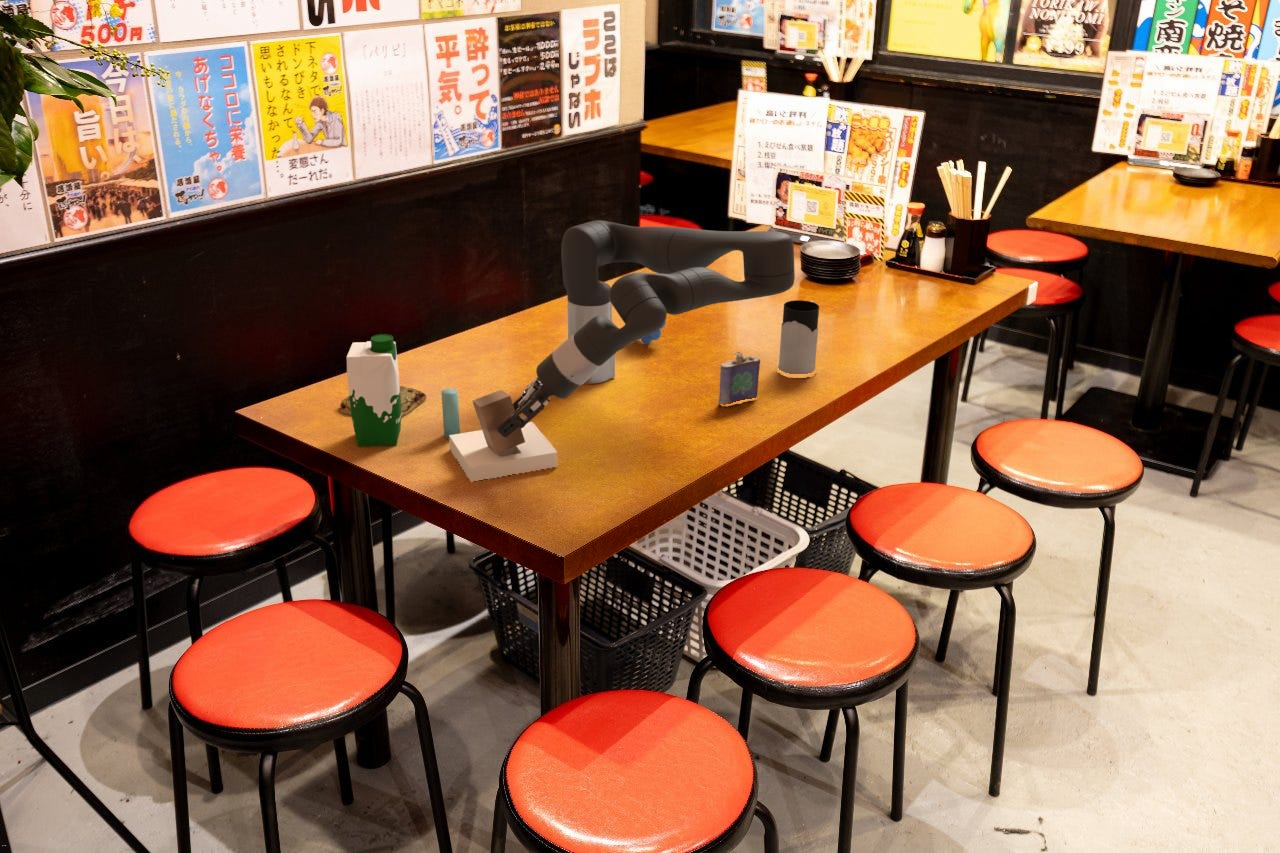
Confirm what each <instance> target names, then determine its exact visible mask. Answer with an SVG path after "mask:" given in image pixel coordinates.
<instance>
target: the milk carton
mask: <svg viewBox="0 0 1280 853" xmlns="http://www.w3.org/2000/svg"><path fill="white" fill-rule="evenodd" d="M396 344H397V343H396V341H394V336H393V335H391V334H386V333H384V334H383V333H382V334H381V333H380V334H375V335H373V336H371V337H370V340H369V341H368V340H367V341H366V342H364V341H363V342H361V341H360V342H358V341H357V342H354V341H353V342H352V344H351V346H350V348H349V351H348V353H347V355H346V376H347V378H346V379H347V387H348V396H349V397H350V407H351V415H350V416H351V421H352V422H351V423H352V426H353V430H354V431H353V432H354V434H355V441H356V444H357V447H379V446H378V445H391V446H397V445H398V444H397V443H398V440H399V436H400V432H401V427H402V426H401V425H402V418H401V414H402V409H401V395H400V386H401V385H400V374H399V365H398V364H399V362H398V354H397V345H396Z"/></svg>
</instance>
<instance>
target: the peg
mask: <svg viewBox="0 0 1280 853" xmlns="http://www.w3.org/2000/svg"><path fill="white" fill-rule="evenodd" d="M440 393H441V394H440V395H441V405H442V406H441V408H442V423H443V437H444V438H446V439H448V440H449V435H454V434H460V433H461V428H460V425H461V424H460V411H459V410H460V409H459V392H458V389H455V388H444V389H443V390H441V392H440Z"/></svg>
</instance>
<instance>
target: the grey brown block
mask: <svg viewBox="0 0 1280 853" xmlns="http://www.w3.org/2000/svg"><path fill="white" fill-rule="evenodd" d="M513 403H514V402H513V401H512V398H511V395H510V394H508V393H507V392H506V391H504V390H503V389H499V390H496V391H494V392H491V393H489V394H486V395H484V396H481V397H479V398H475V399H473V400H472V404H473V407H474V410H475V414H476V415H477V416H476V417H477V419H478V421H479V422H478V423H479V425H480V428H481V430H482V431H483V434H484V437H485V440H486V443H487V446H488V447H489V448H490V449H491V450H492V451H493V452H495V453H496V454H497V453H500V452H502V451H505V450H507V449H510V448H512V447H515V446H517V445H520V444H522V443H525V439H524V436H523V433H522V430H521V428H520V427H518V428H517V429H516V430H514V431H513V432H512V433H511V434H510V435H509V436H508V437H503V436H502V435H501V434H500V433H499V432H498V430H497V429H498V427H499V426H500V425H501V424H502V423H503V422H505V421H506V420H507V419H508V418H509V417H510V416H511V414H512V413H514V412H515V409H514V406H513Z"/></svg>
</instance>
